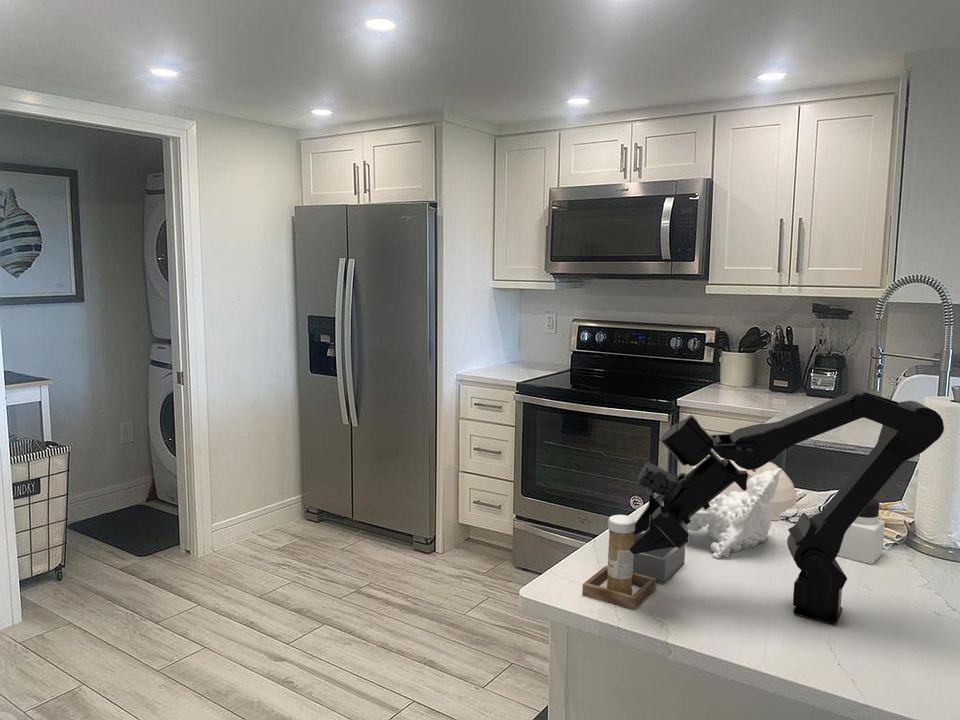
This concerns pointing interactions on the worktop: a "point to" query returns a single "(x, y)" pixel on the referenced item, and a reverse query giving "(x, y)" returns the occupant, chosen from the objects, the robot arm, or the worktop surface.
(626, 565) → the sprinkles bottle
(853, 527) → the medicine bottle
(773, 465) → the kettle
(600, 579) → the walnut holder
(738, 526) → the white coral
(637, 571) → the grey bin
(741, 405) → the worktop surface
